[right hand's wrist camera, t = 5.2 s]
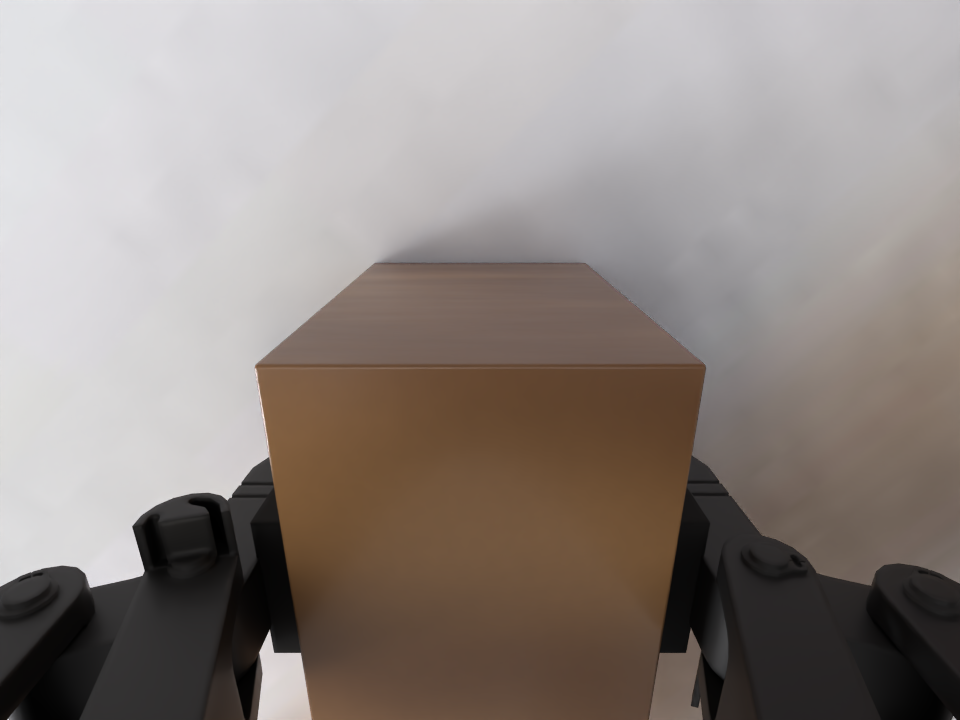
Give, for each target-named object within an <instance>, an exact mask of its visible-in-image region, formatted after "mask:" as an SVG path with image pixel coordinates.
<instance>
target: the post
mask: <svg viewBox="0 0 960 720" xmlns="http://www.w3.org/2000/svg"><path fill="white" fill-rule="evenodd" d="M705 370H706V367H705V364H704V363H702V362H701V361H700V360H699V359H698V358H697V357H695V356H694V355H693V354H692V353H691V352H689V351H688V350H687V349H686V348H685V347H684V346H682V345H681V344H680V343H679V342H678V341H676V340H675V339H674V338H673V337H672V336H671V335H669V334H668V333H667V332H666V331H665V330H664V329H662V328H661V327H660V326H659V325H658V324H656V323H655V322H654V321H653V320H652V319H651V318H649V317H648V316H647V315H646V314H645V313H644V312H642V311H641V310H640V309H639V308H638V307H636V306H635V305H634V304H633V303H632V302H631V301H629V300H628V299H627V298H626V297H625V296H623V295H622V294H621V293H620V292H619V291H618V290H616V289H615V288H614V287H613V286H612V285H611V284H609V283H608V282H607V281H606V280H605V279H603V278H602V277H601V276H600V275H599V274H598V273H596V272H595V271H594V270H593V269H592V268H590V267H589V266H588V265H587V264H585V263H375V264H373V265H372V266H371V267H370V268H369V269H367V270H366V271H365V272H364V273H363V274H362V275H360V276H359V277H358V278H357V279H356V280H354V281H353V282H352V283H351V284H350V285H349V286H347V287H346V288H345V289H344V290H343V291H342V292H340V293H339V294H338V295H337V296H336V297H335V298H333V299H332V300H331V301H330V302H329V303H327V304H326V305H325V306H324V307H323V308H322V309H320V310H319V311H318V312H317V313H316V314H315V315H313V316H312V317H311V318H310V319H309V320H308V321H306V322H305V323H304V324H303V325H302V326H301V327H299V328H298V329H297V330H296V331H295V332H293V333H292V334H291V335H290V336H289V337H288V338H286V339H285V340H284V341H283V342H282V343H281V344H279V345H278V346H277V347H276V348H275V349H274V350H272V351H271V352H270V353H269V354H268V355H266V356H265V357H264V358H263V359H262V360H261V361H259V362H258V363H257V364H256V365H255V373H256V379H257V385H258V391H259V397H260V404H261V410H262V416H263V422H264V428H265V434H266V440H267V447H268V453H269V459H270V465H271V471H272V477H273V483H274V490H275V496H276V502H277V508H278V514H279V520H280V526H281V533H282V539H283V545H284V551H285V557H286V563H287V570H288V576H289V582H290V588H291V594H292V600H293V606H294V613H295V619H296V625H297V631H298V637H299V643H300V649H301V656H302V662H303V668H304V674H305V680H306V686H307V692H308V699H309V705H310V711H311V717H312V720H649V714H650V708H651V702H652V696H653V689H654V683H655V677H656V671H657V665H658V659H659V653H660V647H661V640H662V634H663V628H664V622H665V616H666V610H667V604H668V597H669V591H670V585H671V579H672V573H673V567H674V561H675V554H676V548H677V542H678V536H679V530H680V524H681V518H682V512H683V505H684V499H685V493H686V487H687V481H688V475H689V469H690V462H691V456H692V450H693V444H694V438H695V432H696V426H697V419H698V413H699V407H700V401H701V395H702V389H703V383H704V377H705Z"/></svg>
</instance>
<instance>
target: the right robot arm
mask: <svg viewBox="0 0 960 720" xmlns="http://www.w3.org/2000/svg"><path fill="white" fill-rule="evenodd" d="M132 527H133V531H134V534H135V538H136V541H137V545H138V548H139V552H140V555H141V559H142V562H143V566H144V569H145V572H144V574H143V576H140V577H137V578H133V579H129V580H125V581H120V582H116V583H111V584H107V585H102V586H97V587H93V588H90V587H89V584H88V581H87V578H86V575H85V573H83V572H82V571H81V570H80V569H78V568H77V567H69V566H57V567H51V568H44V569H41V570H37V571H33V572H32V573H31V572H30V573H28V574H25V575H22V576H20V577H18V578H17V579H15V580H13V581H11V582H9V583H7V584H5V585H3V586H1V587H0V720H7V719H8V718H9V720H257V717H258V708H259V699H260V691H261V682H262V667H261V660H260V655H259V651H260V649H261V647H262V645H263V643H264V641H265V638H266V636H267V634H268V632H269V630H270V632H271V638H272V643H273V648H274V653H301V649H300V643H299V637H298V631H297V625H296V619H295V613H294V606H293V600H292V594H291V588H290V582H289V576H288V570H287V563H286V557H285V551H284V545H283V539H282V533H281V526H280V520H279V514H278V508H277V502H276V496H275V490H274V483H273V477H272V471H271V465H270V459H269V458H267V459H266V460H264V461H263V462H261V463H260V464H258V465H257V466H255V467H254V468H252V470H251V471H250V472H249V474H248V475H247V476H246V477H245V479H244V480H243V481H242V485H239V487H238V488H237V489H236V490H235V492H234V493H233V494H232V498H229V500H228V501H227V500H226V499H225V498H223V497H222V496H220V495H216V494H211V493H196V494H189V495H185V496H181V497H176V498H173V499H171V500H168V501H166V502H164V503H161V504H159V505H157V506H155V507H153V508H152V509H151V510H149V511H148V512H146V513H145V514H143V515H142V516H141V517H140V518H139V519H138V520H137V522H136V523H135V524H134V525H133V526H132ZM690 629H692V631H693V633H694V635H695V637H696V639H697V642H698V644H699V646H700V648H701V655H700V660H699V665H698V670H697V675H696V680H695V685H694V690H693V695H692V703H691V706H693V707H697V708H698V706H699V701H700V698H701V707H702V715H703V720H952V717H953V716H954V717H955V718H956V720H960V584H959V583H957V582H955V581H953V580H951V579H949V578H947V577H945V576H944V575H942V574H940V573H937V572H934V571H932V570H931V571H930V570H928V569H925V568H921V567H918V566H912V565H905V564H890V565H884V566H883V567H881V568H880V569H879V570H877V571H876V573H875V576H874V579H873V582H872V585H871V586H869V585H864V584H859V583H855V582H850V581H846V580H841V579H837V578H832V577H828V576H824V575H821V574H817V573H816V571H815V569H814V568H813V567H812V565H811V564H810V562H809V561H808V560H807V558H805V557H804V556H803V555H802V554H800V553H799V552H798V551H796V550H795V549H794V548H792V547H790V546H788V545H786V544H784V543H782V542H780V541H778V540H776V539H772V538H769V537H765V536H762V535H761V534H760V533H759V532H758V530H757V529H756V528H755V526H754V525H753V524H752V523H751V521H750V520H749V519H748V517H747V516H746V515H745V514H744V512H743V511H742V510H741V508H740V507H739V506H738V505H737V503H736V502H735V501H734V499H733V498H732V497H731V496H729V493H728V492H727V490H726V489H725V488H724V487H723V485H722V484H719V480H718V479H717V478H716V476H715V475H714V474H713V472H712V471H711V470H710V469H709V467H708V466H707V465H705V464H704V463H702V462H701V461H699V460H697V459H696V458H694V457H693V456H691V462H690V469H689V475H688V481H687V487H686V493H685V499H684V505H683V512H682V518H681V524H680V530H679V536H678V542H677V548H676V554H675V561H674V567H673V573H672V579H671V585H670V591H669V597H668V604H667V610H666V616H665V622H664V628H663V634H662V640H661V647H660V653H686V650H687V645H688V639H689V634H690Z"/></svg>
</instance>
